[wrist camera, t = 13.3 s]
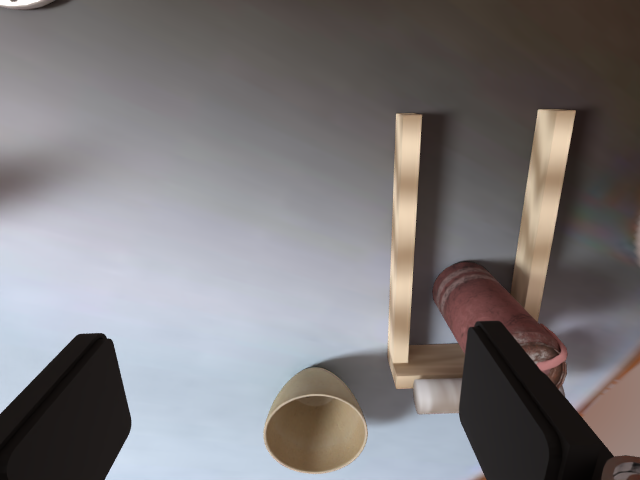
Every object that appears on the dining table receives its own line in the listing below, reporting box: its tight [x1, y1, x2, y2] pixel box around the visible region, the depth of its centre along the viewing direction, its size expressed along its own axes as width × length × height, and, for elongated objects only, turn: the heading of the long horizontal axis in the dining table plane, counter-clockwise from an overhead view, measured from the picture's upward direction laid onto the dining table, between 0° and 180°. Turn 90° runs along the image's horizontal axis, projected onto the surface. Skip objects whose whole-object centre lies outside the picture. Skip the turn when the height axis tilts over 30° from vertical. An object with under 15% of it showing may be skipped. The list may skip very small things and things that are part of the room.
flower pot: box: [264, 367, 368, 474], centre depth 42 cm, size 10×10×7 cm
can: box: [432, 262, 567, 389], centre depth 35 cm, size 6×6×14 cm
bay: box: [387, 109, 576, 414], centre depth 36 cm, size 28×16×10 cm, turn 2°
